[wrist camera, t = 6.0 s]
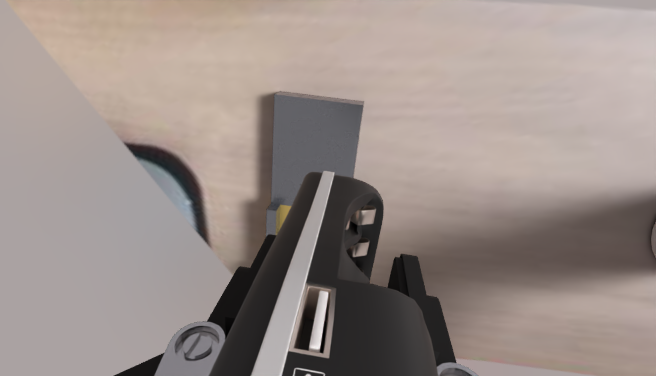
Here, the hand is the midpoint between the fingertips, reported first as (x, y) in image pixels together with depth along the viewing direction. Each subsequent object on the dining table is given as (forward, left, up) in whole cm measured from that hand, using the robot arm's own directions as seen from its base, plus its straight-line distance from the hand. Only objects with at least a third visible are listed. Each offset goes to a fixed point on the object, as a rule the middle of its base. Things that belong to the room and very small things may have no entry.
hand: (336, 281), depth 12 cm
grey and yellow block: (+4, +7, -22) cm, 24 cm away
